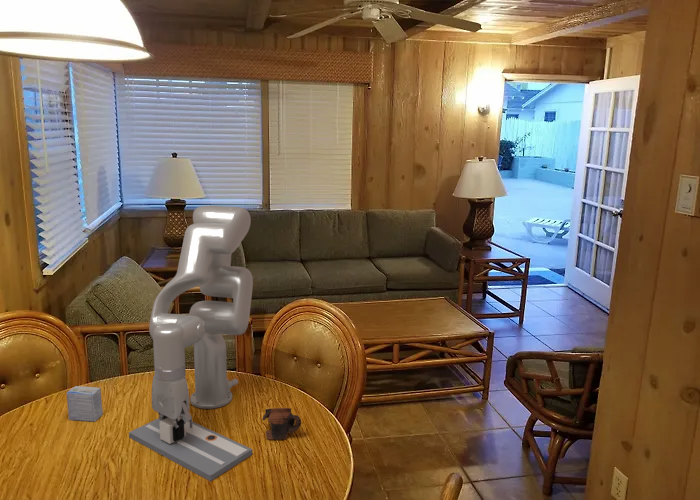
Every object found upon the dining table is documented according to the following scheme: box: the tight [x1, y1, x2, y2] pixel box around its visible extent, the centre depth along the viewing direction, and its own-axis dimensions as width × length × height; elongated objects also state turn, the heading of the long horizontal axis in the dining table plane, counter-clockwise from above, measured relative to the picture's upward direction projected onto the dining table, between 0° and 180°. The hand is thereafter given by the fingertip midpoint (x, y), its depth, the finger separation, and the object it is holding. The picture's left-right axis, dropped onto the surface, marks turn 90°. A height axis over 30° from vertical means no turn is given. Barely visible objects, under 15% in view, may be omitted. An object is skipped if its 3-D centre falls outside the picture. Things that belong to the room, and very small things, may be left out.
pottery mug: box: [262, 407, 302, 440], centre depth 154 cm, size 12×10×8 cm
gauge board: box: [128, 417, 253, 482], centre depth 146 cm, size 14×32×6 cm, turn 56°
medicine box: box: [66, 385, 104, 422], centre depth 158 cm, size 8×4×9 cm, turn 84°
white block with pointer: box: [159, 414, 193, 444], centre depth 148 cm, size 9×4×5 cm, turn 146°
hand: (172, 435), depth 147 cm, fingers closed on white block with pointer, 4 cm apart
